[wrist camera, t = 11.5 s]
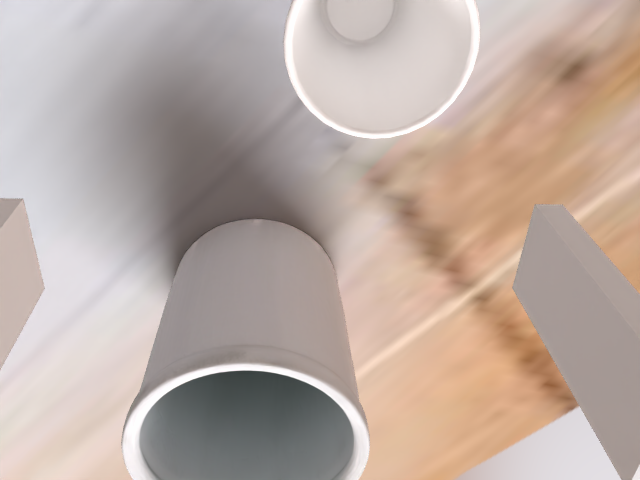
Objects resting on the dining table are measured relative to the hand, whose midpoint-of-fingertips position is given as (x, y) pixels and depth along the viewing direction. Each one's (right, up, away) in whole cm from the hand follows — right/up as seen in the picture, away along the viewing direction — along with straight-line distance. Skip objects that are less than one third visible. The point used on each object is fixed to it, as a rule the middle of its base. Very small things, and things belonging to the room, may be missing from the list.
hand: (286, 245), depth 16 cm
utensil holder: (-4, -4, +35) cm, 36 cm away
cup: (+3, +16, +24) cm, 29 cm away
